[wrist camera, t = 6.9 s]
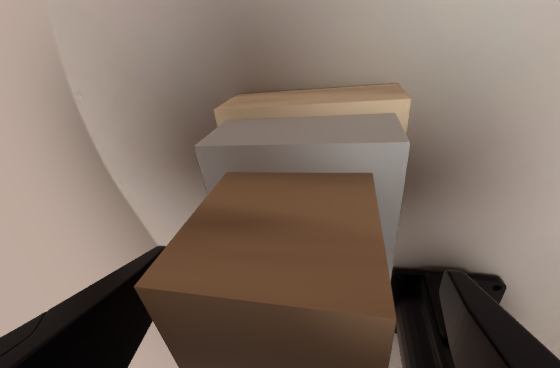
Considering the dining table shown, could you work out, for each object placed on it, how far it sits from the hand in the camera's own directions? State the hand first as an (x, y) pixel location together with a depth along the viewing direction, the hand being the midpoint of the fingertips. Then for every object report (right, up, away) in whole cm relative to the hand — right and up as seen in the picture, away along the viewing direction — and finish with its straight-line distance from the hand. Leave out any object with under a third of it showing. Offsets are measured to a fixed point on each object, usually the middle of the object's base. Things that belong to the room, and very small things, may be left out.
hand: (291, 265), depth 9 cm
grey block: (+1, +2, +4) cm, 5 cm away
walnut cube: (0, +1, +2) cm, 2 cm away
